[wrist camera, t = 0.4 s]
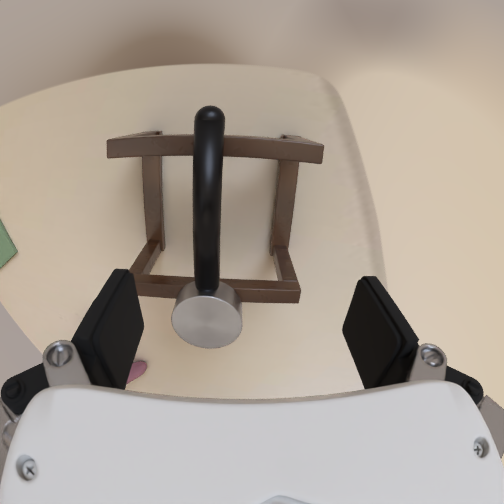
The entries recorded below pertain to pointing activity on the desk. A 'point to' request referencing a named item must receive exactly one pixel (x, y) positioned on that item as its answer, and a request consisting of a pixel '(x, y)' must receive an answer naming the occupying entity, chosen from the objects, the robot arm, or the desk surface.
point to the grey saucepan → (207, 246)
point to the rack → (283, 149)
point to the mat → (5, 246)
